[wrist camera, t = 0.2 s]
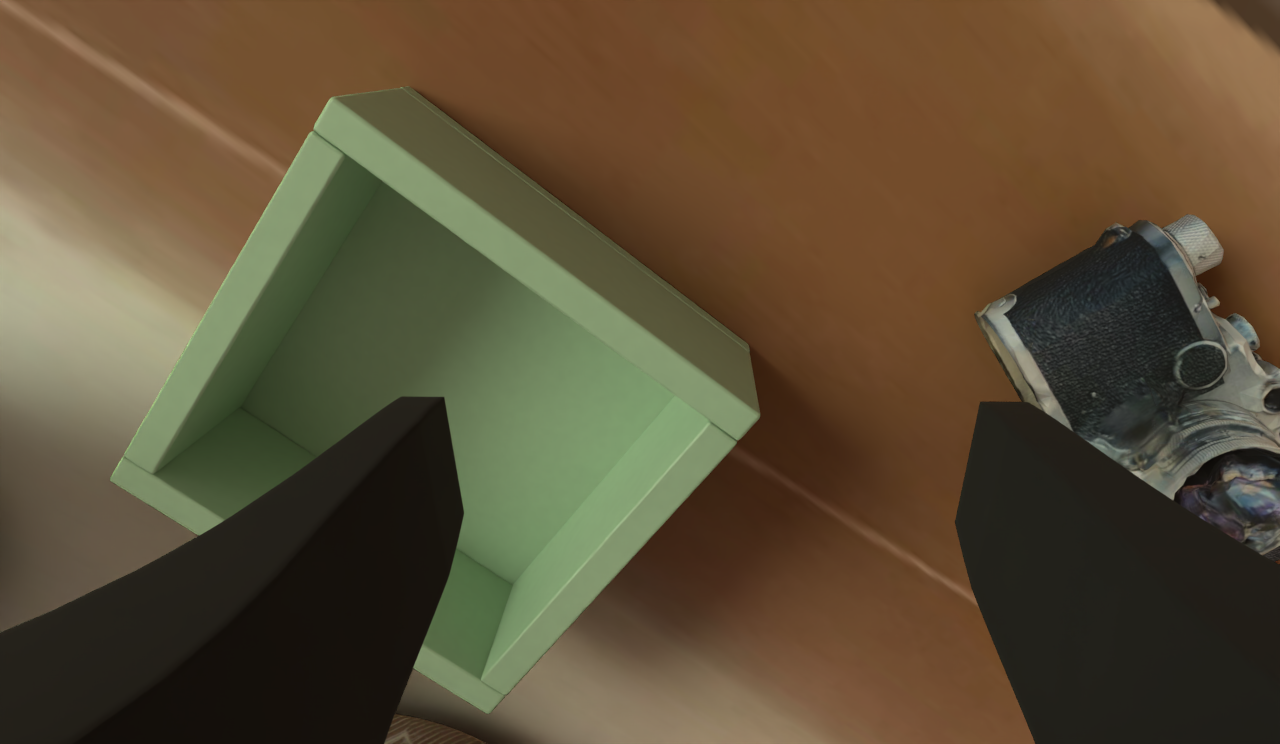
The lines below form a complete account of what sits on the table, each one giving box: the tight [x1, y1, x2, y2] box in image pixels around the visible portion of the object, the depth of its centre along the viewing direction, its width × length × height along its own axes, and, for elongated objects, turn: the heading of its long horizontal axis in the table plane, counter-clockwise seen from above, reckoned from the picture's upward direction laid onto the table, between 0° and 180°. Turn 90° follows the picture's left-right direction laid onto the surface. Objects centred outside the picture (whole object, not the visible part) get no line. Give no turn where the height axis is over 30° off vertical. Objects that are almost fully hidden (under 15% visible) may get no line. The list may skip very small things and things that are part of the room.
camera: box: [974, 215, 1280, 562], centre depth 20 cm, size 5×10×4 cm, turn 34°
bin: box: [110, 86, 760, 714], centre depth 20 cm, size 11×11×5 cm
